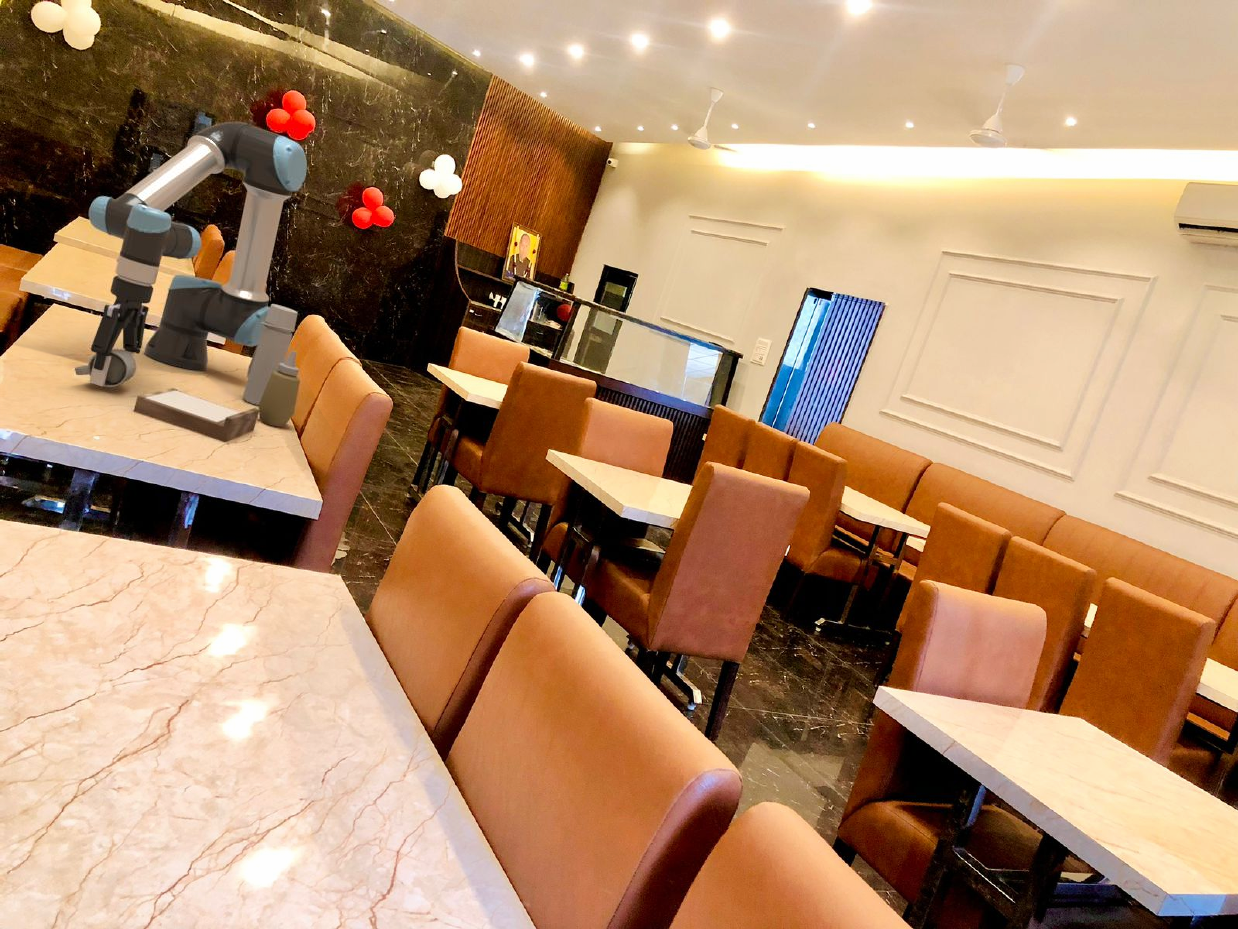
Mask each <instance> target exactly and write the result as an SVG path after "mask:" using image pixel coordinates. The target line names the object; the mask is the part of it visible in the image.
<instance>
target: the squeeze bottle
mask: <svg viewBox="0 0 1238 929" xmlns="http://www.w3.org/2000/svg"><path fill="white" fill-rule="evenodd" d="M296 360H297V352H296V351H295V350H290V352H289V354H288V356H287V357H286V358H285V361H284V363H279V365H278V369H277V370H278V371H274V372H272V374H271V376H270V378H269V381H268V383H267V386H266V388H265V390H264V393H263V395H262V398H261V400H260V402H259V406H258V409H259V410H260V411H259V414H258V418H259V420H260V421H261V422H263V423H264V424H267V425H270V426H274V427H280V428H282V427H283V428H284V427H286V425H287V423H288V422H289V421H290V420H291V418H292V417H293V416H294V414H295V410H296V404H297V400H298V393H299V389H300V388H299V387H300V383H301V380H300V378H299V377H298V375H299V372H300V368H299V367H297V366H296V364H297V363H296Z"/></svg>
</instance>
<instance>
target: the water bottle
mask: <svg viewBox="0 0 1238 929" xmlns="http://www.w3.org/2000/svg"><path fill="white" fill-rule="evenodd" d="M269 307H270V309H269V312H268V314H267V317H266V319H265V322H261V324H264V326H263V330H262V333H261V337H260V340H259V342H258V345H256V346H255V347H256V348H255V350H254V353H253V355H252V357H251V360H250V363H249V364H248V369H247V372H246V378H247V382H246V385H245V388H244V391H243V394H242V398H243V400H244V401H245V402H247V403H248V402H249V404H251V405H254V404H256V405H255V406H257V405H259V402H260V400H261V398H262V395H263V393H264V390H265V388H266V386H267V383H268V381H269V378H270V376H271V374H272V372H274V371H278V370H277V369H278V365H279V363H284V362H285V361H286V359H287V357H286V356H287V353H288V351H289V347H290V345H291V340H292V338H293V333H294V332H295V331H296V330H295V329H296V328H295V327H296V323H297V318H298V311H296V310H294V309H292V308H289V307H286V306H284V305H283V306H282V305H279V304H275V303H272V304H271V305H270V306H269Z"/></svg>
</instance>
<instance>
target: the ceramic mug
mask: <svg viewBox="0 0 1238 929" xmlns="http://www.w3.org/2000/svg"><path fill="white" fill-rule="evenodd" d="M123 350H124V349H123ZM123 350H120V349H118V348H113V349H112V351H111V352H110V354H109V356H111V360H110V364H109V368H108V372H107V376H106V380H105V384H104V386H103V387H105V388H115V387H118V386H120V385H122V384H124V383H126V382H128V381H129V380H131V379H132V377H134V375H135V374H136V370H137V363H136V360H135V359H134V356H133V357H132V356H131V355H130V354H129V353H127V352H125V351H123ZM95 357H96V353H94V354H93V356H91V358H90V359H89V361H88V363H87V364H86V365H80V366H76V367H74V372H75V375H77V376H85V375H88V376H91V372H92V369H93V365H94V361H95Z"/></svg>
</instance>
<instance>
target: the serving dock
mask: <svg viewBox="0 0 1238 929" xmlns="http://www.w3.org/2000/svg"><path fill="white" fill-rule="evenodd" d="M175 390H176V391H179V392H182V393H185V394H188V395H190V394H189V393H186V392H183V391H180V390H179V389H177V388H175V387H173V388H172V387H171V388H167V389H163V390H158V391H154V392H150V393H145V394H139V395H137V397H136V401H135V404H134V408H133V412H135V413H138V414H141V415H144V416H147V417H149V418H152V419H156V420H159V421H161V422H165V423H168V424H171V425H173V426H176V427H179V428H182V429H186V430H189V431H192V432H194V433H197V434H199V435H203V436H206V437H209V438H212V439H215V440H217V441H221V442H224V443H226V442H229V441H231V440H233V439H236V438H239V437H241V436H244V435H246V434H249V433H251V432H253V431H255V427H256V424H257V420H258V418H259V411H260V410H259V408H256V407H253V408H250V409H247V410H244V411H237V410H236V411H237V412H240V413H238V414H235V415H232V416H229V417H226V419H225V420H224V421H221V422H218V423H215V422H212V421H209V420H207V419H204V418H201V417H198V416H195V415H192V414H189V413H186V412H183V411H180V410H177V409H174V408H171V407H168V406H165V405H162V404H160V403H157V402H154V401H151V400H148V399H145V397H149V396H153V395H158V394H162V393H167V392H171V391H175ZM198 398H199V399H202V398H200V397H198ZM202 400H205V401H208V400H206V399H202ZM208 402H211V403H214V402H212V401H208ZM214 404H217V403H214ZM217 405H220V406H223V407H225V406H224V405H221V404H217Z"/></svg>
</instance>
